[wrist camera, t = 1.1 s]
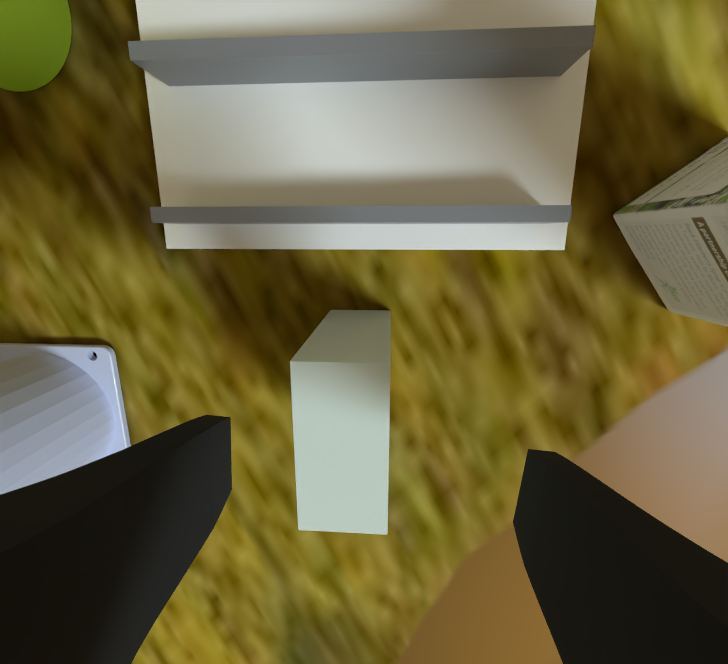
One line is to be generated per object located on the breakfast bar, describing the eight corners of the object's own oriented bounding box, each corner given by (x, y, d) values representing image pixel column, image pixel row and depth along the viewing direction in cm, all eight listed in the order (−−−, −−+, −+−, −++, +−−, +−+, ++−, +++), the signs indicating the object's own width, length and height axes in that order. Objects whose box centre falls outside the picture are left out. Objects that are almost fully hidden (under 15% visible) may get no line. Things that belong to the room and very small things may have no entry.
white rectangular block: (388, 420, 20) (387, 534, 13) (333, 418, 21) (298, 529, 13) (390, 310, 19) (390, 363, 11) (330, 309, 19) (289, 361, 11)
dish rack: (178, 247, 19) (131, 251, 15) (135, -110, 15) (63, -207, 12) (554, 248, 18) (593, 252, 14) (602, -138, 14) (668, -255, 11)
